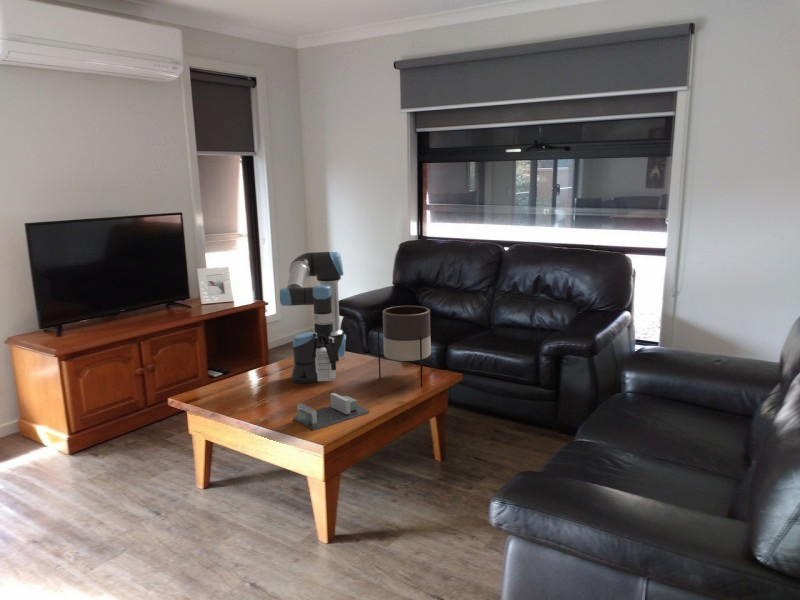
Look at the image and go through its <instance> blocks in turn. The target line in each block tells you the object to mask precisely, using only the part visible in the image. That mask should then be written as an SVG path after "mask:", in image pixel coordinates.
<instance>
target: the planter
mask: <svg viewBox="0 0 800 600" xmlns="http://www.w3.org/2000/svg"><path fill="white" fill-rule="evenodd" d="M382 328H383V331H382V332H383V333H382V334H383V338H382V339H383V354H381V346H380V341H381V340H380V331H379V330H378V331H377V348H378V378H379V380H381V379H382V377H381V373H382V372H381V357H382V358H384V357H385V358H387V359H389V360H393V361H398V362H413V361H415V362H417V363H420V387H421V388H422V387H423V371H424V369H423V364H424V363H423V360H424V359H427V358H428V357H430V356H431V353H432V349H431V347H432V346H431V345H432V344H431V309H430V308H428V307H425V306H421V305H420V306H419V305H397V306H391V307H386V308H385V309H383V310H382Z"/></svg>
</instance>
